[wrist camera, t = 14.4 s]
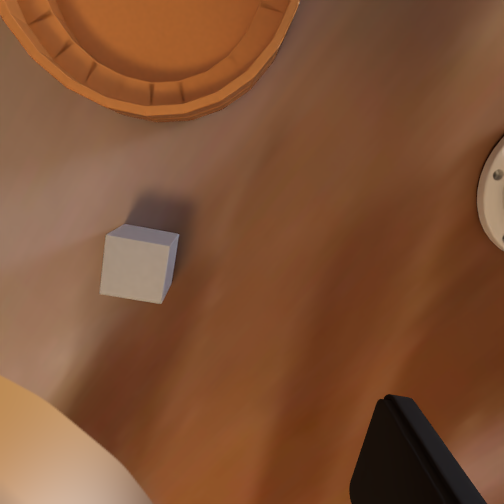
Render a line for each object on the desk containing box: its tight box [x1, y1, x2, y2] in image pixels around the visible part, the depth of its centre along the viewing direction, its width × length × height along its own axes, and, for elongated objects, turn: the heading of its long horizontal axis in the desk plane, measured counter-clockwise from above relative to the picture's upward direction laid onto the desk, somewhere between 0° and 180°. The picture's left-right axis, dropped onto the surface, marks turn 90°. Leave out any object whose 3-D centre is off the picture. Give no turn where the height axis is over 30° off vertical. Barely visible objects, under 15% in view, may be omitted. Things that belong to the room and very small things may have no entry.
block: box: [99, 224, 179, 304], centre depth 27 cm, size 4×4×4 cm
